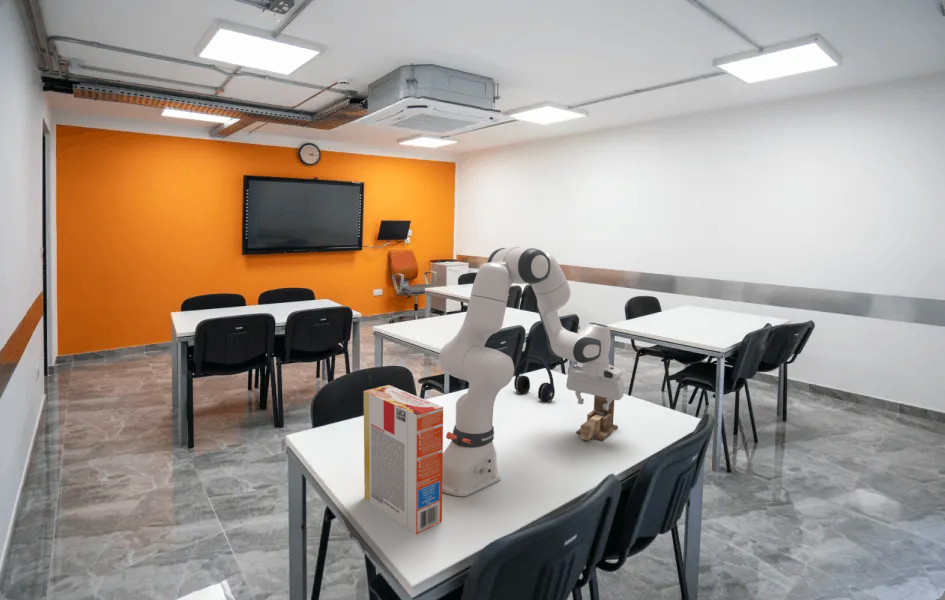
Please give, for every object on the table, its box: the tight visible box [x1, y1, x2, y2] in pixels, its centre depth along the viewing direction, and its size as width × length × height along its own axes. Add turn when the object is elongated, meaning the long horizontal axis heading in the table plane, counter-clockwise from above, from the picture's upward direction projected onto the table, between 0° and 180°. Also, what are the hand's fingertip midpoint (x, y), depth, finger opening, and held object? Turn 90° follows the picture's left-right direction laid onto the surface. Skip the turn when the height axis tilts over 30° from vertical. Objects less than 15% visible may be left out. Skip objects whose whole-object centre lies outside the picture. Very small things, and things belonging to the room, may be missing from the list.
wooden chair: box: [575, 395, 619, 442], centre depth 189 cm, size 15×10×12 cm, turn 145°
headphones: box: [513, 354, 556, 402], centre depth 226 cm, size 20×7×18 cm, turn 42°
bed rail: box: [579, 412, 605, 441], centre depth 186 cm, size 15×3×5 cm, turn 145°
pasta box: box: [363, 384, 444, 535], centre depth 134 cm, size 23×8×30 cm, turn 44°
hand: (592, 406), depth 184 cm, fingers open, 8 cm apart
